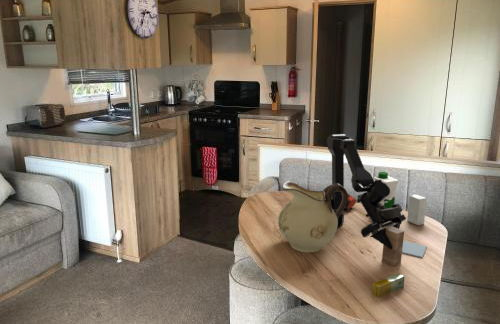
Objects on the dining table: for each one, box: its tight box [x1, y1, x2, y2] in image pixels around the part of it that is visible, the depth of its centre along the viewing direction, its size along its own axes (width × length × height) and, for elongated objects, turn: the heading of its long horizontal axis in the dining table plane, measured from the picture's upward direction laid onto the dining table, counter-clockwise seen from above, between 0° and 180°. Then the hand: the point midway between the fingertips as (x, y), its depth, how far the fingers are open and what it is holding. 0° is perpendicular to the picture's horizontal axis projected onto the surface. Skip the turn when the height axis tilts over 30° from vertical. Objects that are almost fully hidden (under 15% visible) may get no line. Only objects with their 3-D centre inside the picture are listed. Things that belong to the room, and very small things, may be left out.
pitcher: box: [277, 181, 349, 254], centre depth 150 cm, size 22×24×25 cm
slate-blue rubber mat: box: [402, 240, 428, 259], centre depth 149 cm, size 10×10×1 cm
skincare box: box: [406, 194, 427, 226], centre depth 172 cm, size 6×4×12 cm
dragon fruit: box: [347, 193, 357, 210], centre depth 189 cm, size 8×8×12 cm
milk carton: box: [373, 171, 400, 208], centre depth 178 cm, size 9×9×20 cm
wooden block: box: [381, 226, 405, 268], centre depth 138 cm, size 4×5×12 cm
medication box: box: [371, 272, 405, 298], centre depth 122 cm, size 12×3×4 cm, turn 120°
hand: (396, 246), depth 137 cm, fingers open, 5 cm apart
